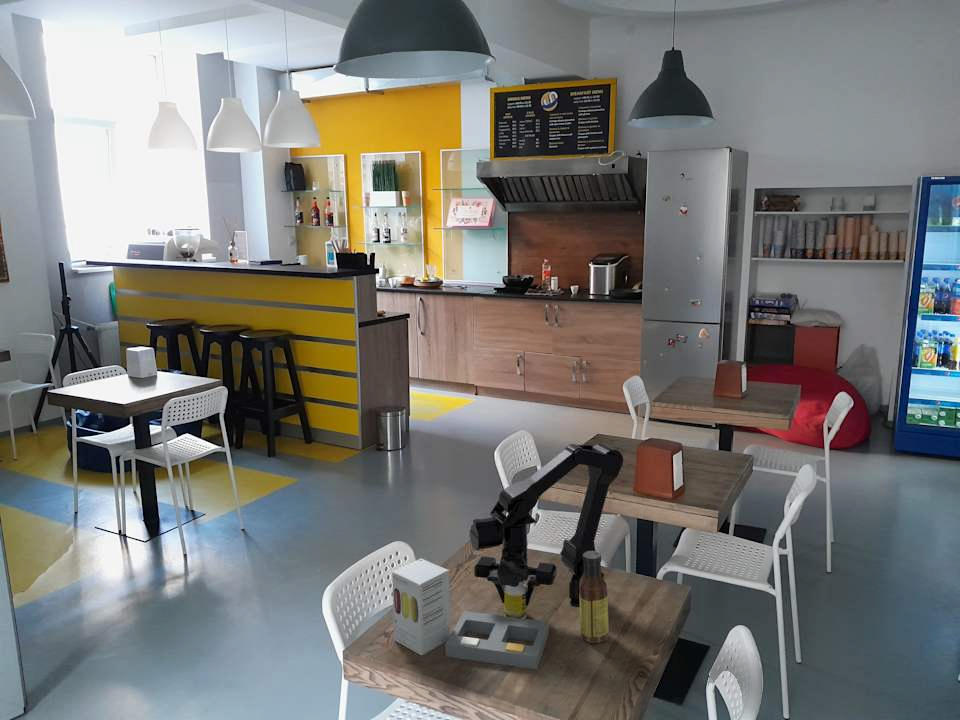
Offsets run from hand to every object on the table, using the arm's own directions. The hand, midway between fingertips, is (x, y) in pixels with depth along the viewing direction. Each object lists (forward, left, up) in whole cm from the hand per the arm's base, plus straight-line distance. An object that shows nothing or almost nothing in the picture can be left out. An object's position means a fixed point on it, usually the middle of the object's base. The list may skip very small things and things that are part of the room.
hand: (515, 603), depth 174 cm
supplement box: (+18, +15, -3) cm, 24 cm away
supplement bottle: (0, 0, -3) cm, 3 cm away
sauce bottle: (-19, +5, -3) cm, 20 cm away
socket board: (+1, +13, -3) cm, 13 cm away
